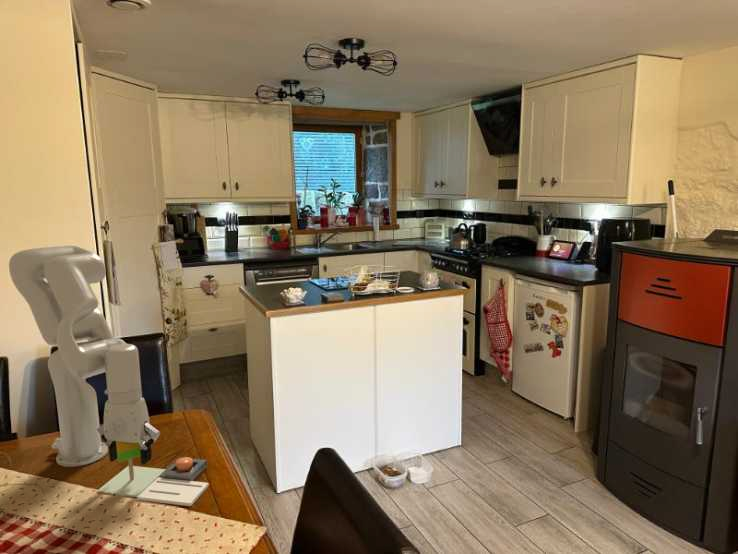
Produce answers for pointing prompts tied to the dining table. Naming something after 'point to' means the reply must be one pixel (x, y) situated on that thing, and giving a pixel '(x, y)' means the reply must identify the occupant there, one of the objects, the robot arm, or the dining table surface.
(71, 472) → the dining table surface
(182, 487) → the paper board
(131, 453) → the popsicle
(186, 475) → the button housing
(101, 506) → the dining table surface
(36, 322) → the robot arm
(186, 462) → the button
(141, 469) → the mat
